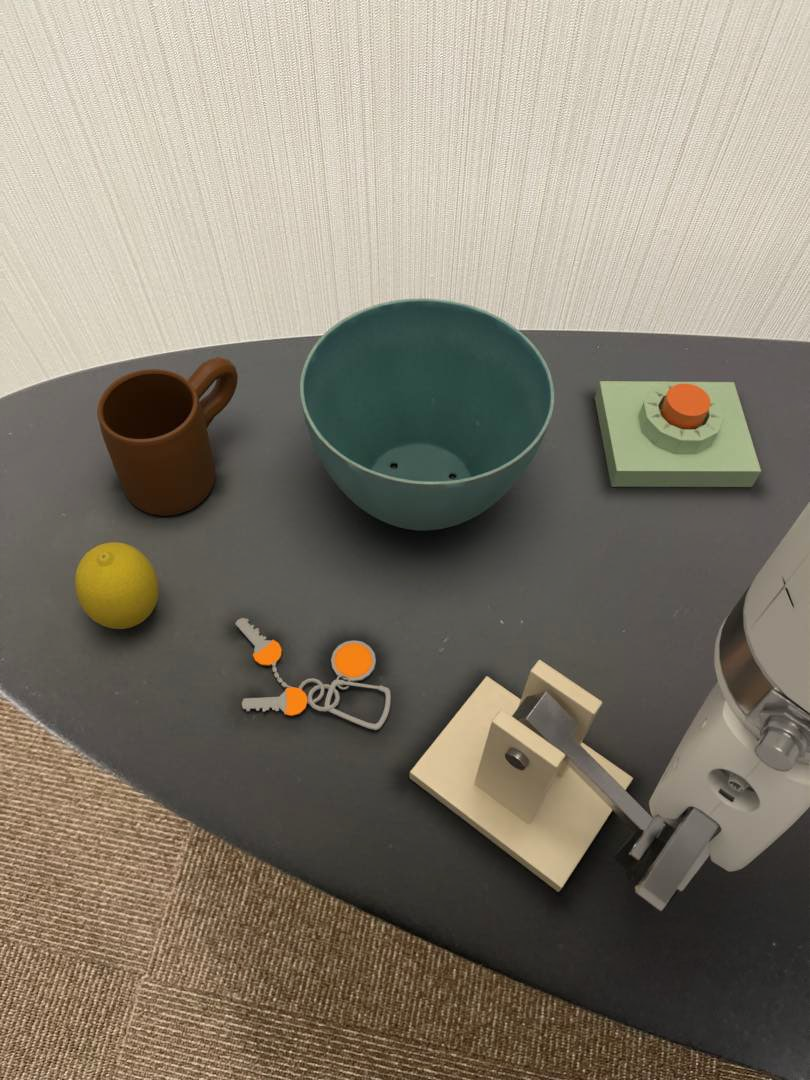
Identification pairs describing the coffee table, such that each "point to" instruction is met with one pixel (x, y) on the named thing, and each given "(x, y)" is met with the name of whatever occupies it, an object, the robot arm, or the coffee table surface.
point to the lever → (582, 758)
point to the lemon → (116, 585)
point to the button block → (674, 438)
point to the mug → (165, 434)
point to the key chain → (347, 663)
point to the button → (685, 406)
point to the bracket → (519, 776)
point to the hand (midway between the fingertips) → (687, 800)
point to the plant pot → (425, 409)
